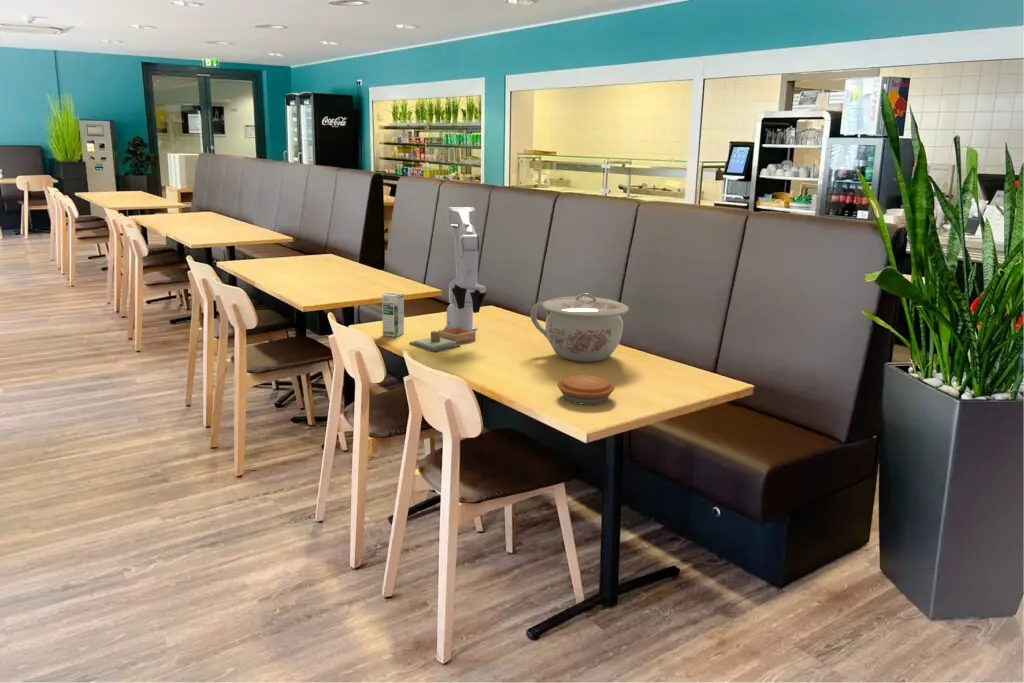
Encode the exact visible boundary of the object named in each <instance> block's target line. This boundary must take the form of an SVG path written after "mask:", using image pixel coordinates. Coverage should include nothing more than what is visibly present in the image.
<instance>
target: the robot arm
mask: <svg viewBox="0 0 1024 683" xmlns="http://www.w3.org/2000/svg"><path fill="white" fill-rule="evenodd" d="M446 222H447V223H446V227H447V228H446V229H447V231H448V233H450V234H452V237H453V241H454V256H455V258H454V260H455V261H454V262H455V278H453V279H452V280H451V281H450V282H449V284H448V303H450V304H449V305H448V306H447V308H446V325H445V326H444V329H449V328H455V327H460V328H464V329H468V330H471V331H475V330H478V328H479V327H476V326H474V324H473V323H474V321H473V320H474V319H473V318H474V314H477V313H480V309H481V306H482V303H483V301H484V298H486V295H487V292H486V291H487V288H486V286H484V285H482V284H480V283H478V280H479V279H478V274H479V273H478V270H479V269H478V268H479V267H478V266H479V252H480V250H481V237H480V235H479V233H476V230H475V223H476V208H475V207H474V206H470V207H468V206H467V207H466V206H465V207H464V206H462V207H460V206H448V207H447V210H446Z"/></svg>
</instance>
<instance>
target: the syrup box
mask: <svg viewBox="0 0 1024 683" xmlns="http://www.w3.org/2000/svg"><path fill="white" fill-rule="evenodd" d="M404 295H405V294H404V293H400V292H399V293H398V292H390V291H389V292H385V293H383V294H382V297H381V298H382V299H381V301H382V302H381V303H382V304H381V308H382V309H381V310H382V336H383V335H385V336H384V337H386V336H387V337H391V338H392V337H393V338H398V337H400V336H402V335H403V334H405V312H404V311H405V308H404V307H405V301H404V300H405V296H404Z"/></svg>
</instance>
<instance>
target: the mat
mask: <svg viewBox="0 0 1024 683" xmlns="http://www.w3.org/2000/svg"><path fill="white" fill-rule="evenodd" d="M415 341H416V340H414V341H409V342H408V344H409V345H411V346H414V347H417V348H419V349H423V350H427V351H430V352H433V353H438V352H441V351H442V352H443V351H447V350H451V349H455V348H459V347H461V344H454V345H449V346H445V347H440V348H435V349H432V348H429V347H426V346H423V345H420V344H416V343H415Z"/></svg>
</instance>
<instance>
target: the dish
mask: <svg viewBox="0 0 1024 683" xmlns="http://www.w3.org/2000/svg"><path fill="white" fill-rule="evenodd" d="M437 331H438V332H440V337H442V338H445V339H448V340H452V341H455V342H456V344H459V345H461V344H465V343H468V342H470V343H471V342H473V341H476V331H475V330H468V329H464V328H460V327H455V328H449V329H448V328H444V329H440V330H437Z"/></svg>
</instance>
